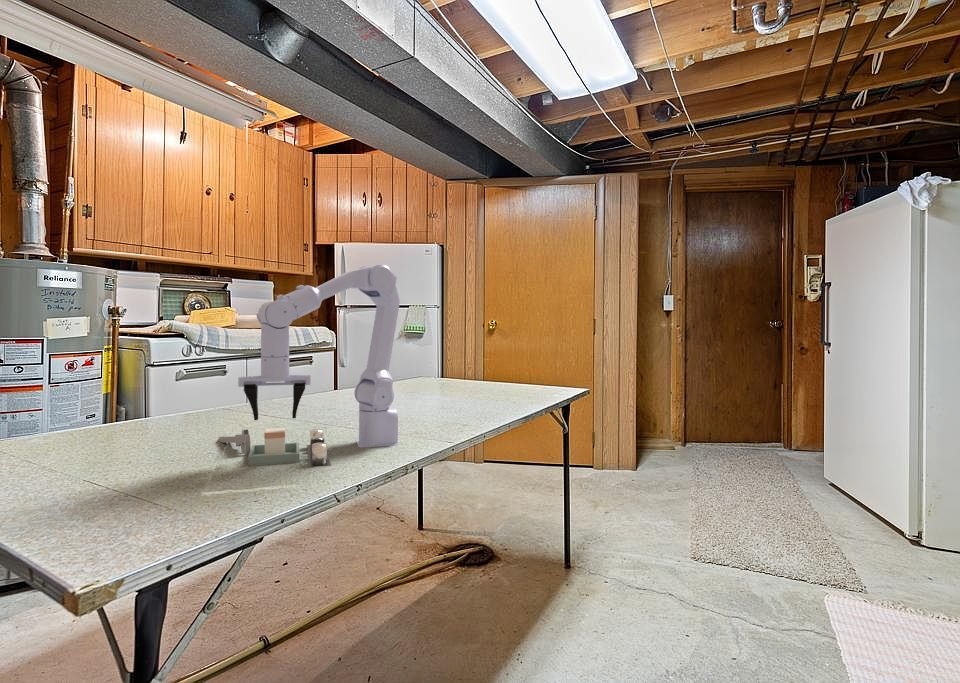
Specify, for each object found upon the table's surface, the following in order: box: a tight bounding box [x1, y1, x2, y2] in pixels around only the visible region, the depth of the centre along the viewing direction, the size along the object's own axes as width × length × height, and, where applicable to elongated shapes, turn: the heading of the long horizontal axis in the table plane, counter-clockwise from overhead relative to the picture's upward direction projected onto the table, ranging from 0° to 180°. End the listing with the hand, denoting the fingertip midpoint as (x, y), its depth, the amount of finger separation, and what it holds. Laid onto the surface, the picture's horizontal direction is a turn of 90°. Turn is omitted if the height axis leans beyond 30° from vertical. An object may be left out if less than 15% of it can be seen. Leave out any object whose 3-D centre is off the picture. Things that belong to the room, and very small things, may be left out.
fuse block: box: [306, 428, 332, 468], centre depth 116 cm, size 4×19×4 cm, turn 20°
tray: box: [247, 442, 301, 467], centre depth 113 cm, size 10×10×2 cm
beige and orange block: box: [263, 427, 286, 455], centre depth 113 cm, size 4×4×6 cm
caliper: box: [217, 428, 251, 456], centre depth 122 cm, size 20×1×6 cm, turn 43°
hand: (275, 418), depth 113 cm, fingers open, 7 cm apart
